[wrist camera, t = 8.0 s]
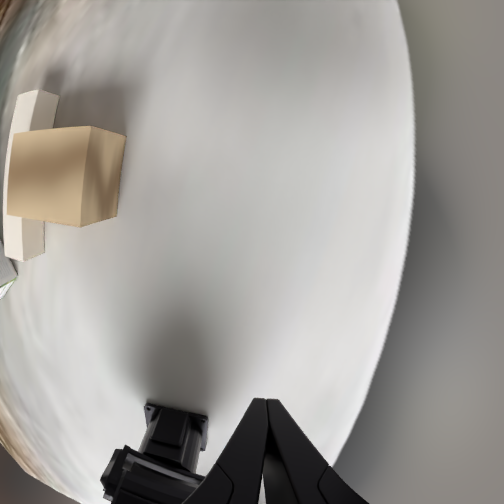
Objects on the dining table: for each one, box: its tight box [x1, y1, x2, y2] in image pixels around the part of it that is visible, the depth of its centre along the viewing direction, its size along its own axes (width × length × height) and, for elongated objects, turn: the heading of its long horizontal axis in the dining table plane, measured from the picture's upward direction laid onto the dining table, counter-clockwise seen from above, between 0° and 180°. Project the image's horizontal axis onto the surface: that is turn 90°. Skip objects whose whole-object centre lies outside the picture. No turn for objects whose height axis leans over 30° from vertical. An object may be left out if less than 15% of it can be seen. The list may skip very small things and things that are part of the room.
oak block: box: [7, 126, 127, 227], centre depth 15 cm, size 6×8×5 cm
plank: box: [3, 89, 60, 262], centre depth 16 cm, size 14×3×3 cm, turn 171°
